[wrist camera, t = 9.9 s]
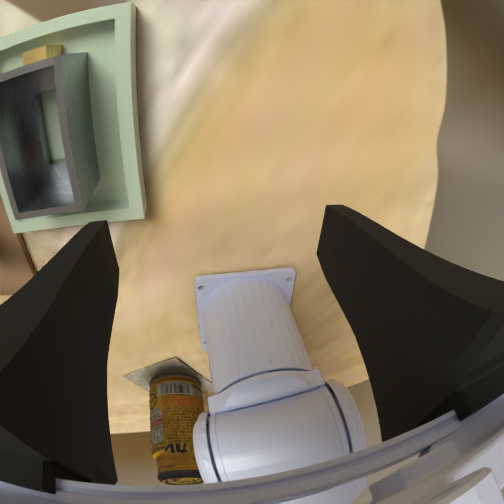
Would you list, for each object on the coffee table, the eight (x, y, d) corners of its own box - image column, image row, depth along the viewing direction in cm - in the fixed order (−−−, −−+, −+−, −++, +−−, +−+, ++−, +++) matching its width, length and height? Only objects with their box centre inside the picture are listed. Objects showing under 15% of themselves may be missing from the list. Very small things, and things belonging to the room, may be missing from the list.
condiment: (168, 402, 36) (177, 489, 26) (123, 374, 30) (123, 477, 21) (217, 385, 35) (234, 479, 25) (175, 354, 30) (186, 468, 20)
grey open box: (100, 178, 17) (83, 210, 14) (40, 187, 16) (15, 220, 13) (87, 38, 12) (60, 37, 9) (20, 57, 11) (-16, 65, 8)
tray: (147, 204, 19) (144, 218, 18) (23, 219, 18) (13, 233, 16) (136, 6, 12) (131, 1, 10) (-8, 46, 10) (-23, 48, 9)
